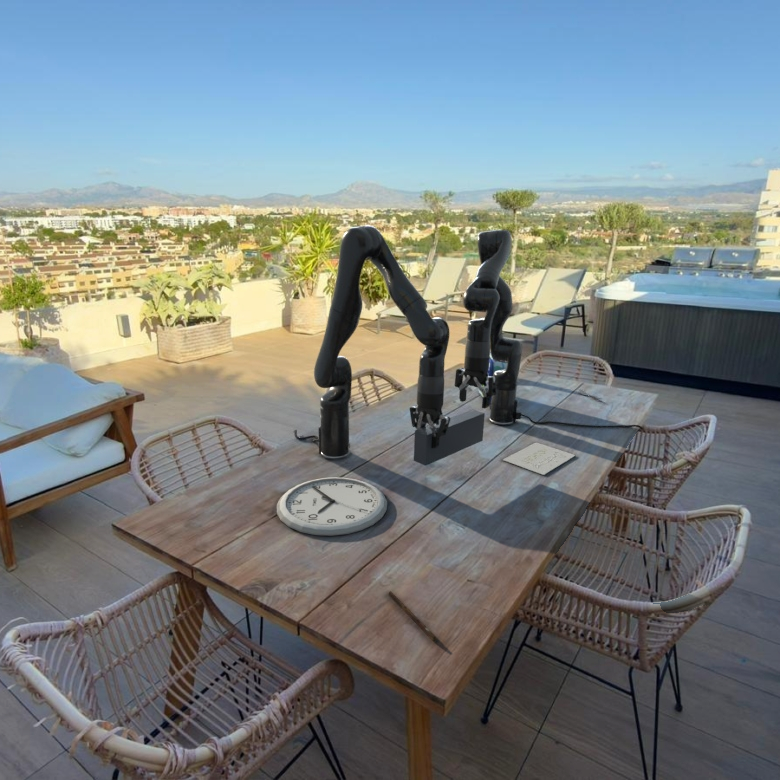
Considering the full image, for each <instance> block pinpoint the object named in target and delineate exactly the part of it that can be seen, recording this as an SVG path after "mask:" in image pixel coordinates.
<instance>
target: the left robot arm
mask: <svg viewBox="0 0 780 780" xmlns="http://www.w3.org/2000/svg"><path fill="white" fill-rule="evenodd" d="M338 258H339V259H338V265H337V266H338V267H337V273H336V278H335V284H334V289H333V294H332V298H331V301H330V307H329V310H328V315H327V316H328V317H327V320H326V321H327V322H326V327H325V330H324V334H323V339H322V342H321V346H320V348H319V351H318V355H317V358H316V361H315V364H314V367H313V368H314V369H313V377H314V381H315V383H316V385H317V386H318V387H319V388H321V389H328V390H327V391H326V392H325V393H324V394H323V395H322V396H321V397H320V399H319V407H320V409H319V410H320V426H319V427H318V436H317V435H307V436H302V437H300V436H298V430H297V429H294V430H293V433H294V438H296V440H300V441H304V440H308V439H312V443H315V442H318V454H319V455H321V457H322V458H324V459H326V460H332V461H339V460H344V459H347V458H348V457H349V456H350V449H351V443H350V400H351V397H352V383H353V381H352V380H353V370H352V366H351V363H350V361H349V360H348V358H347V357H345V356H343V355H340V352H342V351H341V350H342V349H343V348H344V346H345V345H346V343H347V342H348V341H349V340H350V338H351V337H352V336H353V334H354V333H355V331H356V330H357V328H358V326H359V324H360V323H359V322H360V319H361V316H362V311H363V297H362V292H361V288H360V280H361V275H362V271H363V267H364V264H365V262H366V261H370V262H371V263H372V264H373V265H374V267H376V269H378V271H379V272H380V274H381V276H382V278H383V281H384V284H385V287H386V290H387V292H388V296H389V297H390V299H391V301H392V303H394V305H395V306H396V307H397V309H398V310H399V311H400V313H402V315H403V316H404V317H405V319H406V321H407V323H408V325H409V327H410V329H411V331H412V333H413V335H414V337H415V338H416V340H417V341H418V342H419V343H421V345H423V346H424V348H423V352H422V353H421V354H420V356H419V360H418V361H419V362H418V376H417V387H416V405H414V406H411V407H409V415H410V420H411V426H412V427H413V428H415V429H416V430H418V429H421V428H423V427H426V426H427V425H428V426H429V427H430V429H431V430H432V435H433V436H432V448H433V449H435V448H437V447H438V446H439V440H440V437H441V436H443V435H446V432H447V429H448V426H449V422H450V418H451V417H450V416H445V415H444V414H443V410H442V408H443V406H444V399H445V398H444V395H445V360H446V359H445V357H446V356H447V355H446V354H447V350H448V347H449V341H450V327H449V324H448V322H447V321H446V320H445V319H444V318H442V317H437V316H436V317H433V318H432V317H431V315H430V313H429V311H428V309H427V308H428V304H427V302H426V300H425V299H424V297H423V296H422V295H421V293H420V292H419V291H418V289H417V288H416V287H415V286H414V285H413V283H412V282H411V281H410V280H409V278H408V277H407V275H406V273H405V272H404V271H403V269H402V268H401V266H400V264H399V262H398V261H397V259H396V258H395V255H394V254H393V252H392V250H391V248H390V247H389V244H388V243H387V242H386V240H385V238H384V236H383V235H382V233H381V231H379V229H377V228H376V227H374V226H372V225H361V226H353V227H350V228H348V229H347V230H346V231H345V232H344V234H343V235H342V238H341V241H340V247H339V255H338ZM435 423H436V425H433V424H435ZM436 431H437V432H436ZM299 437H300V438H299Z"/></svg>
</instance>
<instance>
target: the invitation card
mask: <svg viewBox="0 0 780 780" xmlns="http://www.w3.org/2000/svg"><path fill="white" fill-rule="evenodd" d="M576 456H577V455H576V454H573V453H570V452H567V451H565V450H561V449H558V448H555V447H552V446H549V445H546V444H543V443H539V442H534V443H532V444H529V445H528V446H526V447H524V448H522V449H520V450H518V451H516V452H514V453H512V454H510V455H509V456H507V457H505V458H503V459H502V461H503V462H506V463H509V464H511V465H514V466H518V467H520V468H523V469H525V470H528V471H531V472H534V473H536V474H539V475H541V476H545V475H547V474H548V473H550V472H552V471H554V469H556V468H558V467H559V466H561V465H563V464H564V463H566V462H568V461H570V460H571V459H572V458H574V457H576Z"/></svg>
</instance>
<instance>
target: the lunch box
mask: <svg viewBox="0 0 780 780" xmlns="http://www.w3.org/2000/svg"><path fill="white" fill-rule="evenodd" d="M506 368H507V363H503V362H498V361H495V360H493V358H492V356H491V351H490V359H489V369H488V372H487V373H488V376H491V377H493V374H494V372H495V371H497V370H502V369H506ZM486 382H487V384H488V386H489V383H488V380H487V381H486ZM483 387H484V385H483ZM478 393H479V395H480V396H481V397H482V398H483V397H484V396H483V394H482V392H481V391H480V390H479V389H478ZM491 398H492V396H491V397H490V402H489V406H491Z"/></svg>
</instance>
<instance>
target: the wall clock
mask: <svg viewBox="0 0 780 780" xmlns="http://www.w3.org/2000/svg"><path fill="white" fill-rule="evenodd" d="M387 509H388V500H387V498H386V496H385V494H384V493H383V492H382V491H381V490H380V489H379V488H377V487H376V486H374V485H372V484H371V483H369V482H365V481H362V480H359V479H355V478H349V477H338V476H337V477H335V476H333V477H332V476H331V477H322V478H317V479H312V480H307V481H305V482H302V483H299V484H297V485H295V486H293V487H292V488H290V489H288V490H287V491H286V492H285V493H284V494H283V495H281V496H280V498H279V499H278V502H277V503H276V515H277V517H278V518H279V520H280V521H281V522H282V523H283V524H285V525H286V526H287V527H288V528H290V529H293V530H295V531H297V532H299V533H303V534H308V535H312V536H327V537H328V536H329V537H331V536H332V537H333V536H342V535H350V534H352V533H356V532H361V531H363V530H366V529H368V528H369V527H372V526H373V525H375V524H376V523H378V522H379V521H380V520H381V519H382V518H383V517H384V516H385V514H386V512H387Z"/></svg>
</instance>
